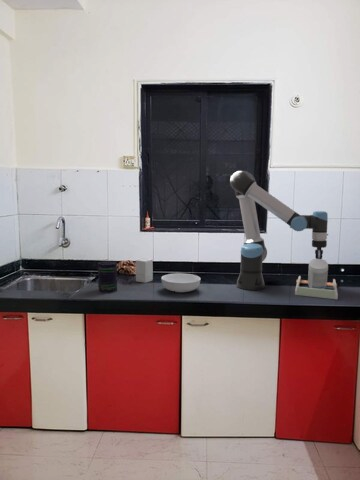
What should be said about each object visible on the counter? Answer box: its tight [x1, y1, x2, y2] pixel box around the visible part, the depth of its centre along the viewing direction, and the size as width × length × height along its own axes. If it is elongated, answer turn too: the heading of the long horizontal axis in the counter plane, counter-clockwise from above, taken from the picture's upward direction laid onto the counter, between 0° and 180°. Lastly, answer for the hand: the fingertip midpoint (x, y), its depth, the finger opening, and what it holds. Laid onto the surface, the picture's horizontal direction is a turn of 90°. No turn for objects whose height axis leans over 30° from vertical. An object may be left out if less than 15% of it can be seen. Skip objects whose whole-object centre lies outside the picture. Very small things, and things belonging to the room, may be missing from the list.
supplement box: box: [135, 258, 154, 284], centre depth 206 cm, size 7×7×13 cm
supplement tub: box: [307, 258, 329, 289], centre depth 188 cm, size 10×10×15 cm
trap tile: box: [295, 279, 338, 287], centre depth 205 cm, size 22×7×1 cm, turn 68°
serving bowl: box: [160, 272, 201, 293], centre depth 187 cm, size 21×21×7 cm
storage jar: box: [97, 260, 118, 294], centre depth 185 cm, size 10×10×15 cm
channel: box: [294, 275, 339, 300], centre depth 193 cm, size 20×34×4 cm, turn 158°
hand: (317, 281), depth 196 cm, fingers closed
